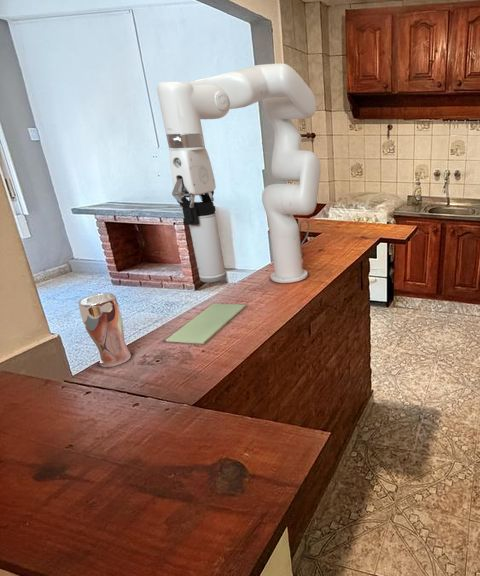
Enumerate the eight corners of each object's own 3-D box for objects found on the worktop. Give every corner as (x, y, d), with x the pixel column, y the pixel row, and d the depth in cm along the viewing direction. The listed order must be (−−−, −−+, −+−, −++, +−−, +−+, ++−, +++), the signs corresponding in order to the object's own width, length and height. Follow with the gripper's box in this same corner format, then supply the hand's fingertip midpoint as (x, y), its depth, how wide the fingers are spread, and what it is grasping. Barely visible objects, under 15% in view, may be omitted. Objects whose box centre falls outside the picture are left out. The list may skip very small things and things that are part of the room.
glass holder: (276, 256, 160) (272, 220, 155) (304, 248, 170) (301, 214, 165) (289, 260, 155) (285, 223, 150) (317, 252, 165) (314, 216, 160)
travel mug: (194, 282, 100) (177, 202, 92) (209, 273, 106) (195, 197, 98) (216, 283, 98) (201, 202, 91) (230, 275, 104) (218, 198, 97)
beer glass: (89, 365, 87) (68, 303, 82) (118, 349, 94) (101, 290, 88) (112, 370, 85) (92, 307, 80) (140, 354, 91) (123, 294, 86)
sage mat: (213, 304, 117) (213, 303, 117) (245, 306, 116) (245, 304, 116) (165, 341, 97) (165, 339, 97) (203, 343, 96) (203, 342, 95)
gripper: (178, 144, 81) (195, 229, 88) (221, 141, 97) (232, 214, 104) (145, 144, 82) (164, 229, 89) (193, 141, 98) (206, 213, 105)
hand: (201, 220), depth 97 cm, fingers closed on travel mug, 6 cm apart
